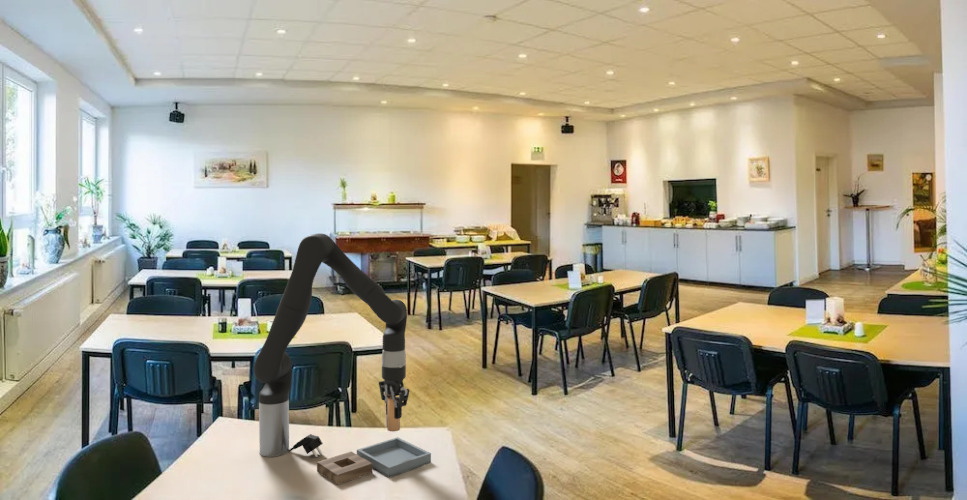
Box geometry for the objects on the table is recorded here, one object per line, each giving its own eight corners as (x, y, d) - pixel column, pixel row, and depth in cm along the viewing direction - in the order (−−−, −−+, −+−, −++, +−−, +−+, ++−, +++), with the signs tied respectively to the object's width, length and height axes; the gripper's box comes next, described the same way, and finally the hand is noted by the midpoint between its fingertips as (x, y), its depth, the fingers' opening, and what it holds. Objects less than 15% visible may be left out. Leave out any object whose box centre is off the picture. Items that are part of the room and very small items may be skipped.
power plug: (292, 445, 203) (318, 428, 200) (304, 465, 202) (330, 448, 199) (282, 452, 198) (308, 434, 194) (294, 472, 197) (320, 455, 193)
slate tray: (356, 458, 195) (356, 449, 195) (397, 445, 206) (397, 437, 206) (389, 477, 182) (389, 467, 182) (430, 462, 193) (430, 453, 193)
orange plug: (384, 429, 194) (384, 398, 193) (395, 426, 196) (395, 395, 196) (392, 432, 191) (392, 401, 190) (402, 429, 193) (402, 398, 193)
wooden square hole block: (317, 471, 186) (317, 461, 185) (351, 460, 194) (351, 451, 194) (337, 484, 177) (337, 474, 177) (372, 472, 185) (372, 463, 185)
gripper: (371, 361, 195) (371, 413, 196) (397, 370, 184) (397, 425, 186) (390, 357, 200) (390, 408, 201) (416, 365, 189) (416, 419, 191)
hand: (393, 416), depth 193 cm, fingers closed on orange plug, 4 cm apart
